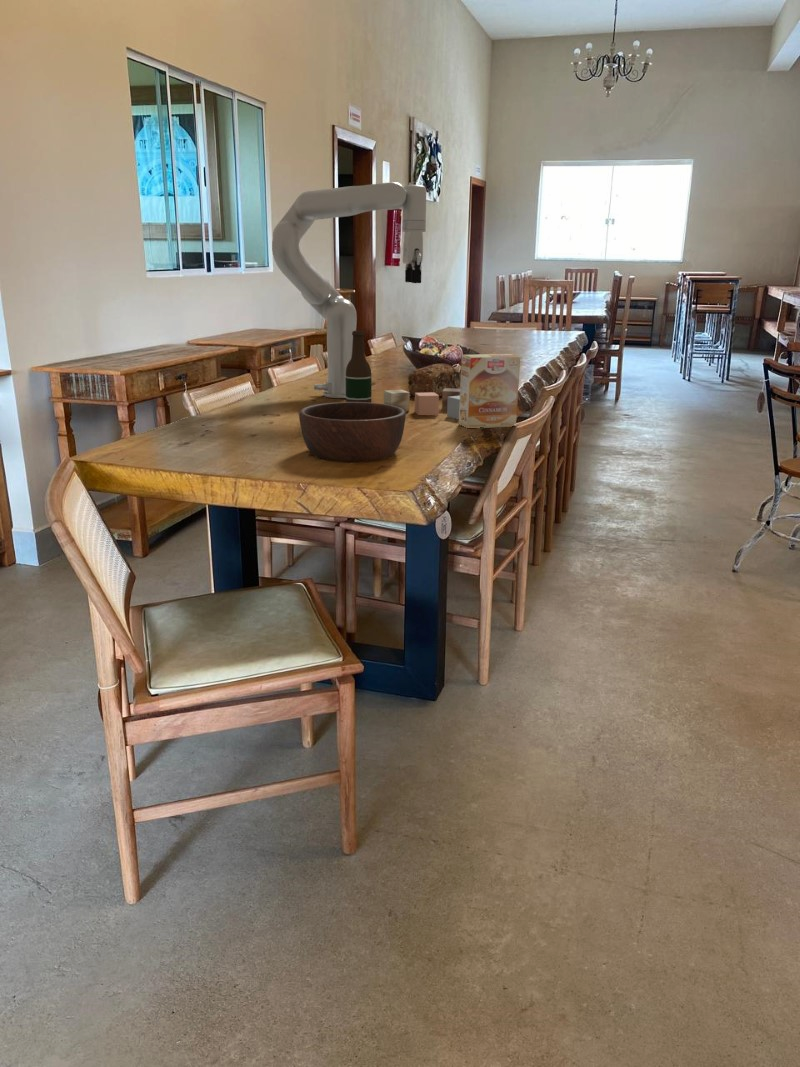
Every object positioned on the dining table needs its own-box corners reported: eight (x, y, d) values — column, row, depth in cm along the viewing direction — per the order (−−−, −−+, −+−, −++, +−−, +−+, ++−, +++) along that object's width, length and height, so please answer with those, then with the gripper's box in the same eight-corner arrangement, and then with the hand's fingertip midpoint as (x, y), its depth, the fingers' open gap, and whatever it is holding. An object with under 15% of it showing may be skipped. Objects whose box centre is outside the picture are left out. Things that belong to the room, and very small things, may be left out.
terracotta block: (418, 416, 235) (419, 395, 233) (414, 412, 241) (414, 392, 239) (438, 415, 236) (438, 395, 234) (433, 412, 242) (434, 392, 240)
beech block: (391, 413, 239) (391, 393, 237) (383, 410, 244) (383, 390, 242) (409, 412, 241) (409, 392, 239) (401, 408, 246) (401, 389, 244)
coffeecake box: (467, 429, 217) (470, 357, 211) (457, 424, 223) (460, 354, 217) (517, 426, 221) (521, 355, 215) (506, 422, 228) (510, 352, 222)
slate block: (460, 420, 230) (460, 399, 228) (446, 417, 234) (447, 396, 232) (475, 418, 233) (476, 397, 231) (462, 415, 238) (463, 395, 236)
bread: (434, 390, 284) (435, 361, 281) (460, 392, 279) (461, 364, 275) (406, 396, 269) (406, 366, 266) (433, 399, 264) (434, 369, 261)
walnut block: (441, 410, 245) (442, 391, 243) (443, 407, 250) (444, 388, 248) (461, 411, 244) (462, 391, 242) (462, 408, 249) (463, 388, 247)
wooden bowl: (349, 437, 205) (349, 398, 202) (426, 452, 190) (427, 410, 187) (277, 454, 187) (276, 410, 184) (356, 472, 172) (355, 425, 169)
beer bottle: (373, 410, 242) (373, 330, 234) (369, 415, 234) (369, 332, 227) (347, 410, 242) (347, 329, 235) (343, 414, 235) (342, 331, 227)
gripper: (397, 227, 262) (396, 281, 268) (408, 225, 246) (407, 283, 252) (419, 228, 264) (418, 282, 269) (431, 226, 248) (430, 283, 253)
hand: (413, 282), depth 260 cm, fingers open, 9 cm apart
